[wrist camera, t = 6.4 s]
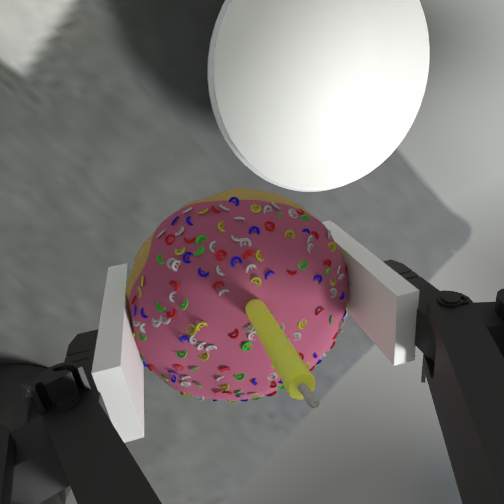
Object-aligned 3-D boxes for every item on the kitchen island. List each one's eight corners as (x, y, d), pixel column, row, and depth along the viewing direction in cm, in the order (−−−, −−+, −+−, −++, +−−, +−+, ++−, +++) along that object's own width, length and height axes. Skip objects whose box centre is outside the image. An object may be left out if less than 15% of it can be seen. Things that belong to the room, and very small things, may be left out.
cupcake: (104, 185, 17) (44, 380, 6) (298, 147, 18) (518, 255, 8) (154, 348, 21) (169, 645, 10) (311, 307, 22) (472, 528, 11)
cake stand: (213, 189, 37) (230, 213, 30) (175, -31, 29) (187, -60, 23) (379, 156, 40) (426, 172, 33) (380, -50, 33) (441, -80, 26)
